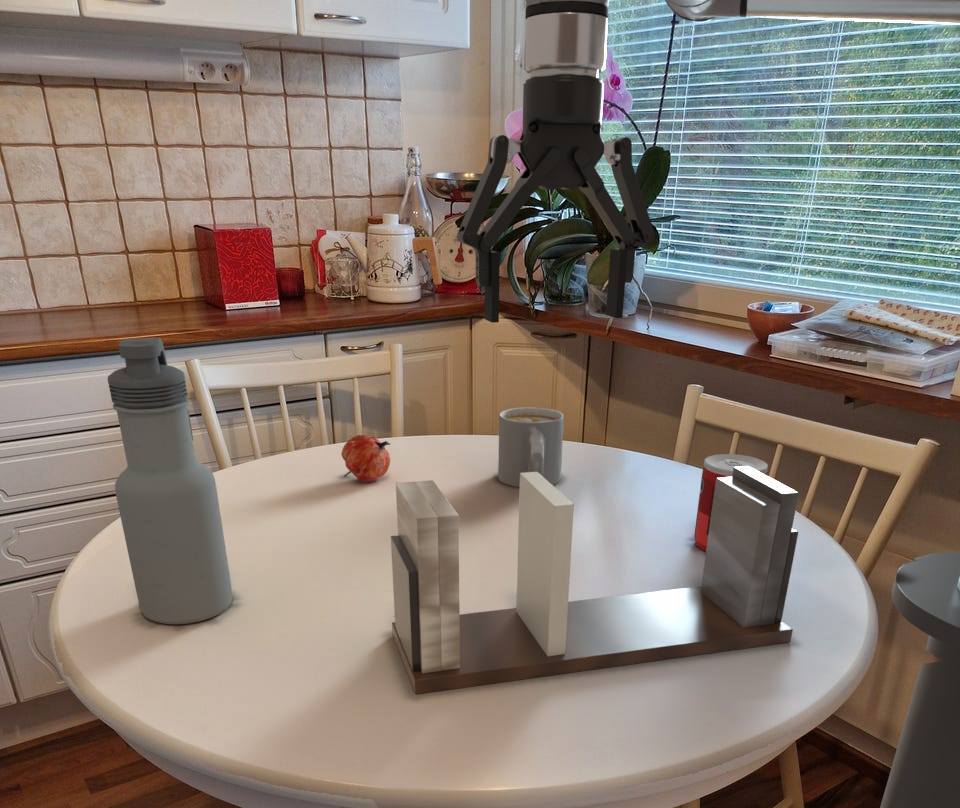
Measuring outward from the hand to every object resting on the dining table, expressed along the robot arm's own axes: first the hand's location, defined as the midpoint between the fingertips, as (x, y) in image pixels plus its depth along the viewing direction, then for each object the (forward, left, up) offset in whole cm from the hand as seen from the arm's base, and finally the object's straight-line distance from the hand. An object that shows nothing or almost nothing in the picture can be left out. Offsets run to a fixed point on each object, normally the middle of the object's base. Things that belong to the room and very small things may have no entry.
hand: (553, 319), depth 89 cm
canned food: (-21, -14, -29) cm, 38 cm away
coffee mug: (+9, -34, -29) cm, 45 cm away
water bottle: (+36, +20, -29) cm, 50 cm away
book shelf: (-8, +16, -29) cm, 34 cm away
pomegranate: (+34, -28, -29) cm, 53 cm away
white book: (-3, +19, -27) cm, 33 cm away
